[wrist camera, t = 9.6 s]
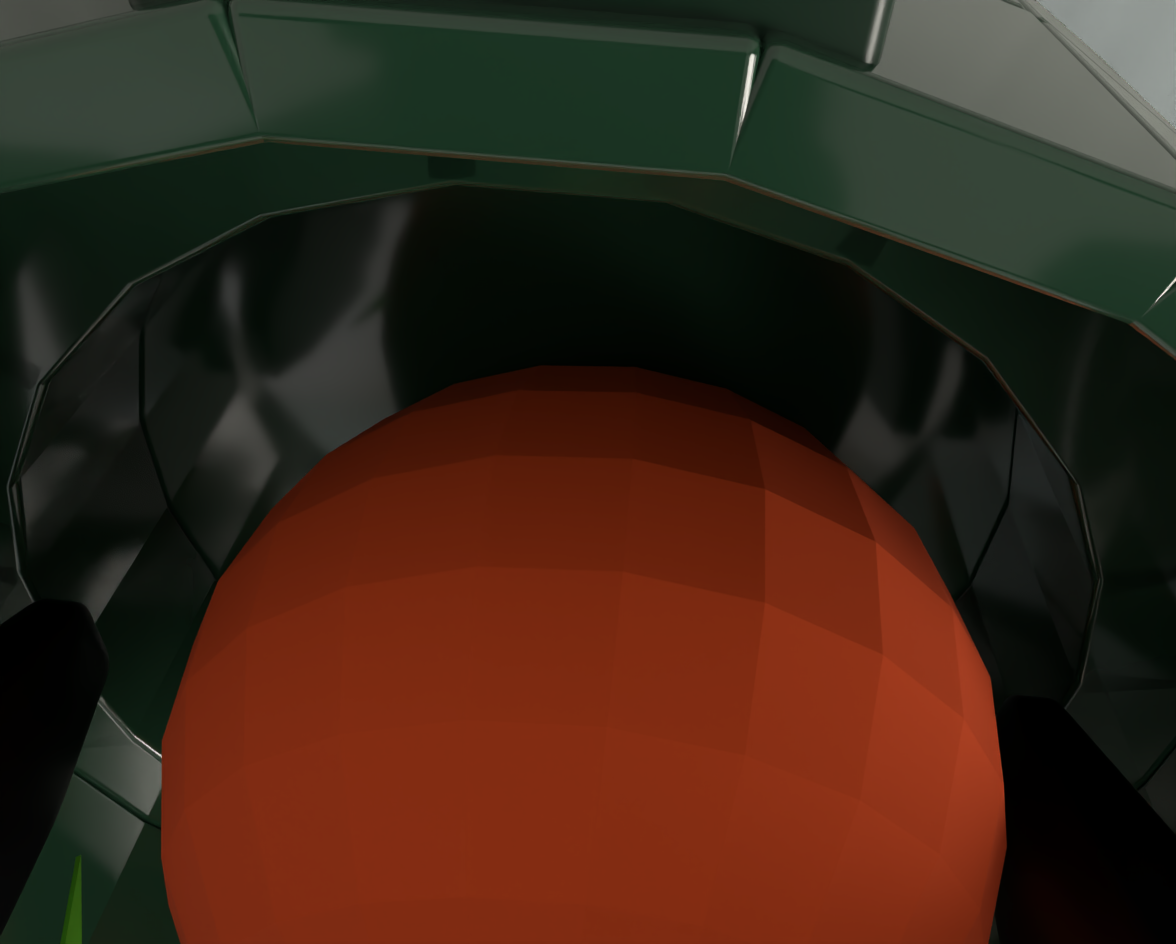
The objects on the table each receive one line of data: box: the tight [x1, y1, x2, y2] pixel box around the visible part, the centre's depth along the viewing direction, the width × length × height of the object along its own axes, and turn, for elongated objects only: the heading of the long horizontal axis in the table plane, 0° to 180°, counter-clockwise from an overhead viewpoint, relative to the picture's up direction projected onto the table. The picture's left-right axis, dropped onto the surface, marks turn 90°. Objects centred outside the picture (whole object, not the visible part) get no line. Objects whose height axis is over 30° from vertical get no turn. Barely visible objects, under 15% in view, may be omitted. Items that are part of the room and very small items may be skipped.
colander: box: [0, 0, 1176, 944], centre depth 9 cm, size 13×13×6 cm
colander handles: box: [129, 0, 895, 65], centre depth 8 cm, size 3×17×1 cm, turn 177°
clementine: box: [60, 365, 1007, 944], centre depth 8 cm, size 8×7×7 cm
